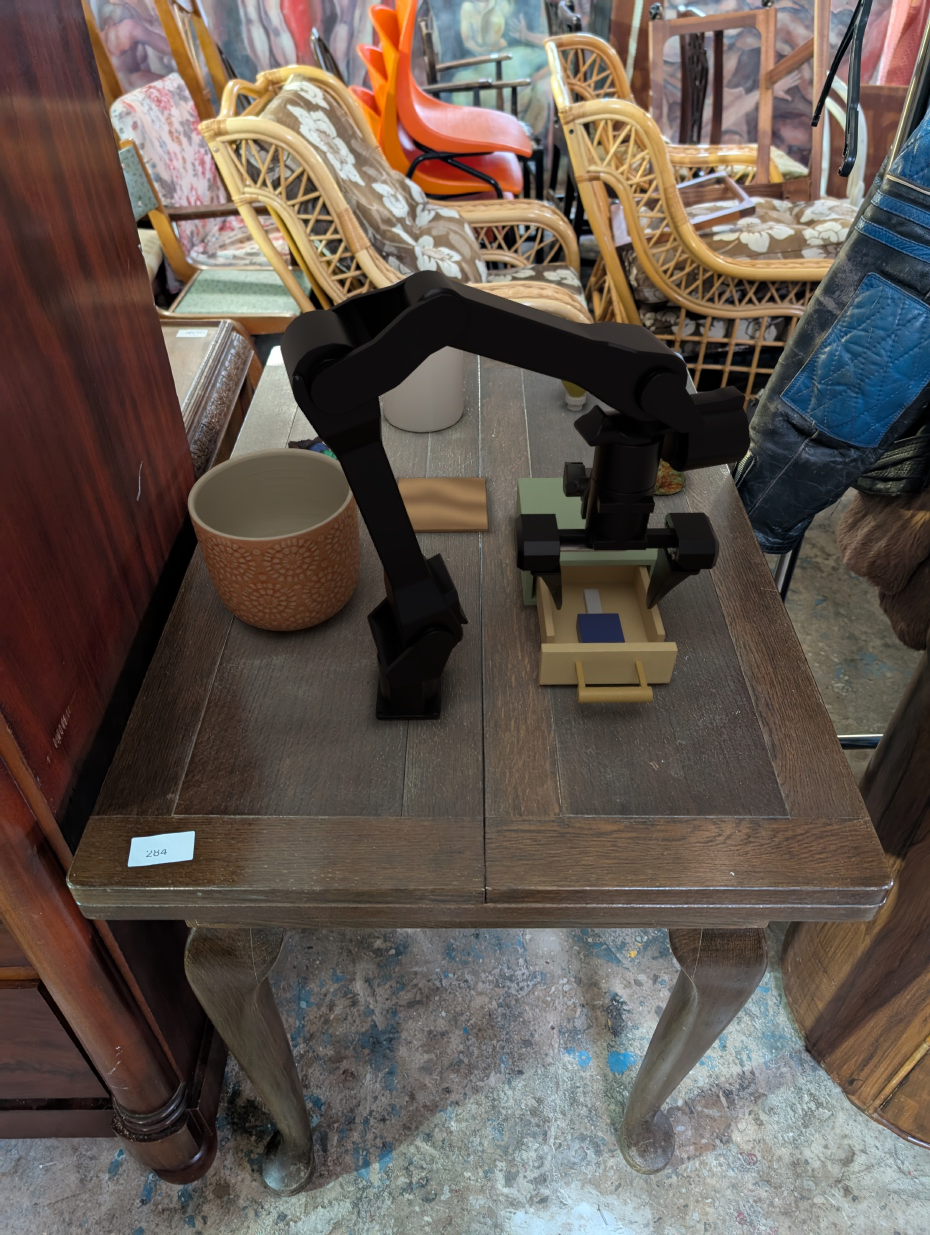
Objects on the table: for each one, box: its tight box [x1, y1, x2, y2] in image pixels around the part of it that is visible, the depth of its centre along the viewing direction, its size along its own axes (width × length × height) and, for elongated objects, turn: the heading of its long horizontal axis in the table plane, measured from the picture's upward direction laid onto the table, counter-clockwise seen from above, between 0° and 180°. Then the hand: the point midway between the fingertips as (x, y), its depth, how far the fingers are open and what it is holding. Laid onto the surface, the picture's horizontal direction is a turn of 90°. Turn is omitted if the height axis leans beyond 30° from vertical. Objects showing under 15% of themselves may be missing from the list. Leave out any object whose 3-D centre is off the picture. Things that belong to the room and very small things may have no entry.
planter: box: [187, 447, 361, 632], centre depth 87 cm, size 17×17×15 cm
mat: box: [397, 477, 489, 533], centre depth 106 cm, size 12×12×1 cm
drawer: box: [535, 565, 679, 704], centre depth 84 cm, size 20×13×5 cm, turn 1°
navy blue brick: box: [576, 589, 625, 643], centre depth 86 cm, size 10×4×2 cm, turn 1°
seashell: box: [654, 459, 687, 496], centre depth 110 cm, size 10×4×10 cm
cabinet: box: [515, 477, 658, 606], centre depth 95 cm, size 17×15×7 cm
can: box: [382, 277, 465, 433], centre depth 118 cm, size 12×12×20 cm
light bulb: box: [560, 380, 587, 412], centre depth 123 cm, size 7×7×10 cm
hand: (603, 606), depth 81 cm, fingers open, 9 cm apart
